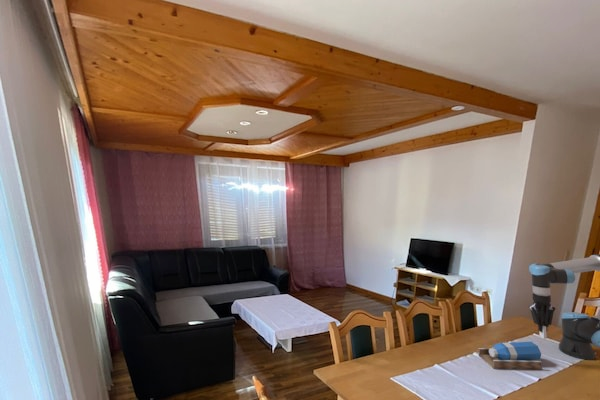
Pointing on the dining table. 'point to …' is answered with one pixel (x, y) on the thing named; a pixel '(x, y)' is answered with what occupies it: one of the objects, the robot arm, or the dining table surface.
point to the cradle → (508, 362)
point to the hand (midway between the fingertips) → (543, 337)
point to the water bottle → (516, 351)
